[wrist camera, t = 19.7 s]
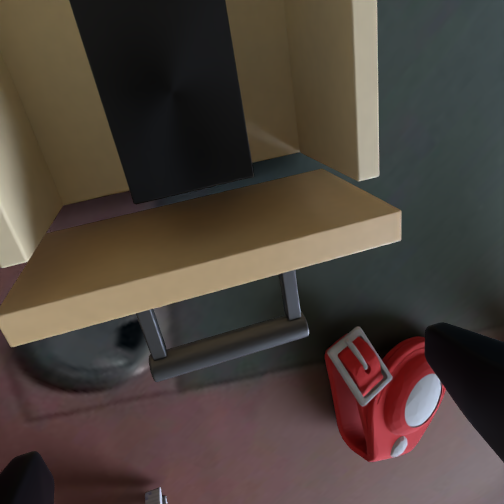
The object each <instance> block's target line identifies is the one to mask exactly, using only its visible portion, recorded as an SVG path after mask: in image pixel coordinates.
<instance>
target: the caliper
mask: <svg viewBox="0 0 504 504" xmlns="http://www.w3.org/2000/svg"><path fill="white" fill-rule="evenodd" d="M145 504H167V499H166V496H163V497H162V493H161V488H157V489H154V490H151V491H148V492H146V493H145Z"/></svg>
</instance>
